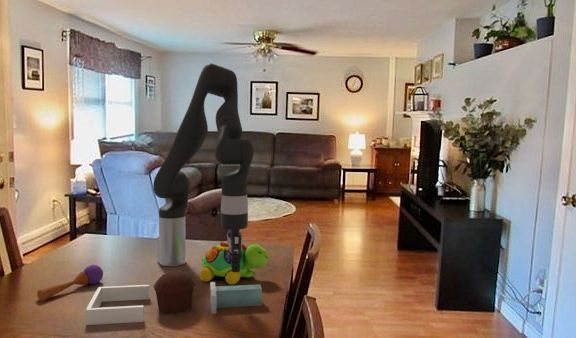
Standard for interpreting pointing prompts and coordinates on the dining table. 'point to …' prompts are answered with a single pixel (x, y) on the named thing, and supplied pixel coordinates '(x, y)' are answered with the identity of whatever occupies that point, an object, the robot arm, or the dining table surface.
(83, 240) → the dining table surface
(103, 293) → the bay
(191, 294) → the muffin
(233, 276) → the turtle toy
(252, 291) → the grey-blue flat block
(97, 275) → the purple ball-ended brown rod
